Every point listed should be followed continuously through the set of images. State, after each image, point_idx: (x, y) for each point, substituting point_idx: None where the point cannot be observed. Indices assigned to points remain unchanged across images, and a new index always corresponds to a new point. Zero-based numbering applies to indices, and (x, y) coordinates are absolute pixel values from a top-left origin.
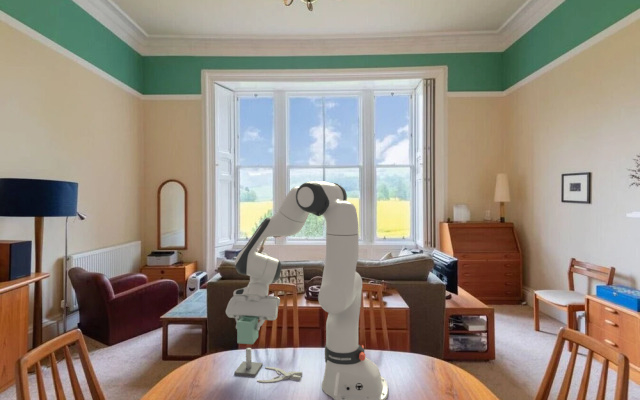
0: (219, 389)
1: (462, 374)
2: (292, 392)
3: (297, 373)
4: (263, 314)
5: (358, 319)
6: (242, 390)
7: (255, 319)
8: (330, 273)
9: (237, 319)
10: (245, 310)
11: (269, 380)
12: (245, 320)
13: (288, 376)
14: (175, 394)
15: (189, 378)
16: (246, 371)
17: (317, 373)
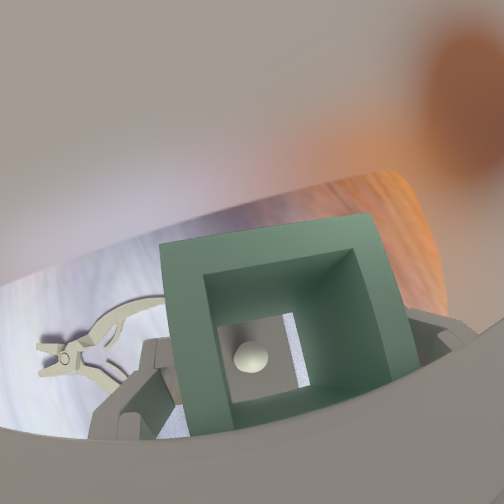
0: (268, 220)
1: None
2: (47, 277)
3: (49, 366)
4: (63, 454)
5: None
6: (192, 238)
7: (179, 373)
8: None
9: (435, 328)
10: (455, 418)
11: (125, 312)
12: (362, 391)
13: (69, 343)
14: (358, 175)
15: (392, 240)
16: (236, 329)
17: (15, 393)
